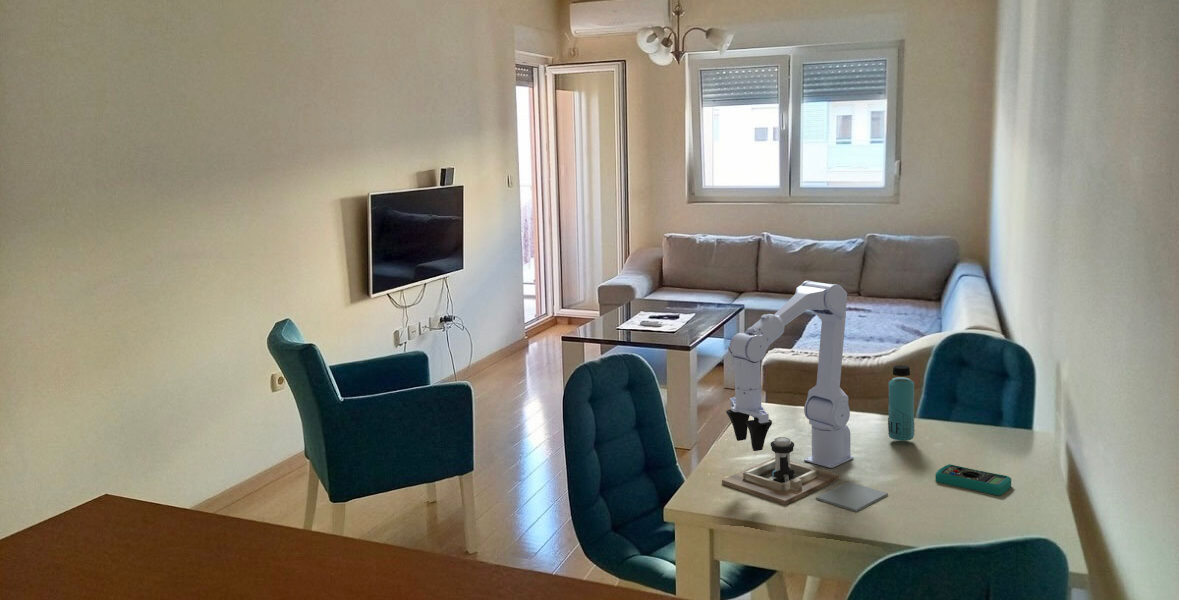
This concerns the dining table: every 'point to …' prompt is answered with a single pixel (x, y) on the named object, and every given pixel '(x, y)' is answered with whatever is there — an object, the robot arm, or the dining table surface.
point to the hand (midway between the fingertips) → (749, 444)
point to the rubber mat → (852, 496)
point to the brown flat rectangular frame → (777, 491)
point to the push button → (782, 459)
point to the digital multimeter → (973, 479)
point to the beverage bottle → (901, 405)
